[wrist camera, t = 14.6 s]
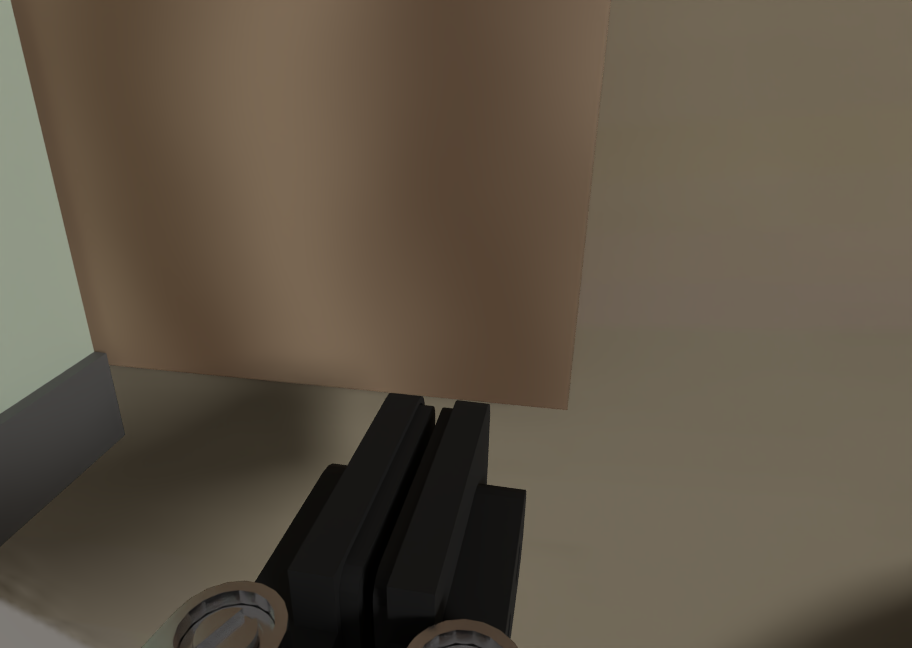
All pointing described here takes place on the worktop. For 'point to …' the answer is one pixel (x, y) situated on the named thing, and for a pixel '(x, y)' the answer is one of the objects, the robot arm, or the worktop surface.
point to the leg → (40, 319)
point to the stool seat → (327, 185)
